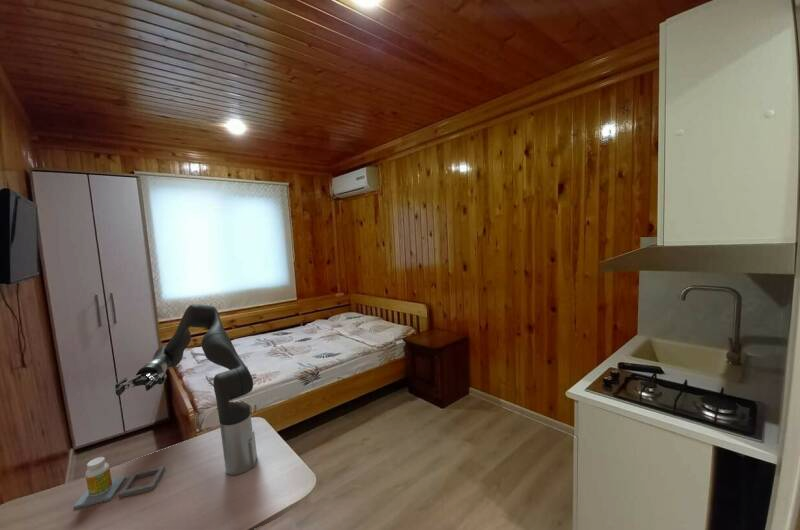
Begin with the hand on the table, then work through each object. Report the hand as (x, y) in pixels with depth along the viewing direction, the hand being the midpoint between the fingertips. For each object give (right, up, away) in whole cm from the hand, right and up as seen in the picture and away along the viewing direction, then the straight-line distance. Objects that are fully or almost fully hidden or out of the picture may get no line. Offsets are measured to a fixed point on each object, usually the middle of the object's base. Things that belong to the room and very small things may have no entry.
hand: (132, 390), depth 113 cm
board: (+1, -27, -13) cm, 30 cm away
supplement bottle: (+1, -26, -13) cm, 29 cm away
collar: (+12, -26, -10) cm, 30 cm away
